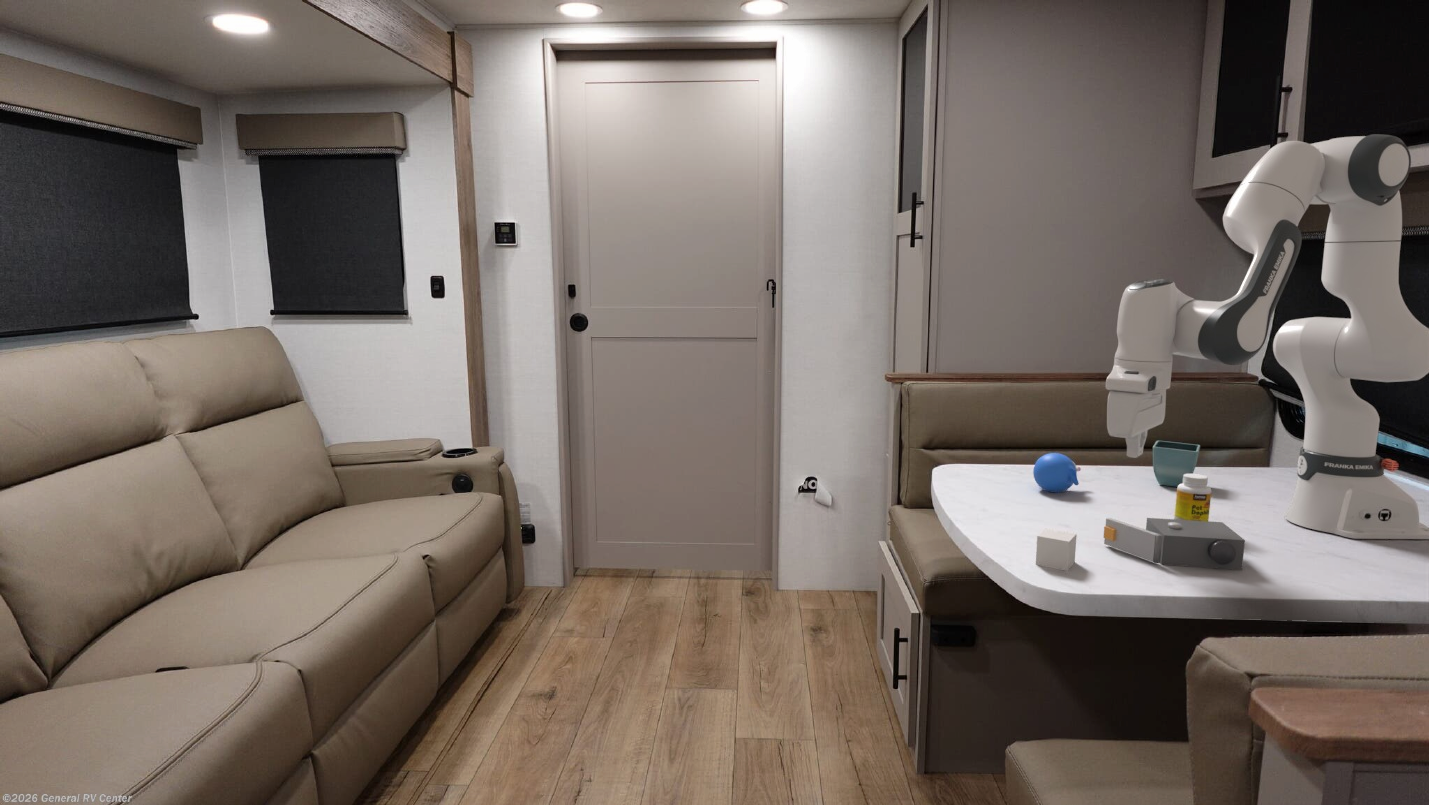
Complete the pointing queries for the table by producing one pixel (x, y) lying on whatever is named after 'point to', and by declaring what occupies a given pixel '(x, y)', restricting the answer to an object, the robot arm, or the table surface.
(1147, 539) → the side door
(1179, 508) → the supplement bottle
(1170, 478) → the flower pot
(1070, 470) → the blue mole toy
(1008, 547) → the table surface
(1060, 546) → the white cube
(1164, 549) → the camera body
